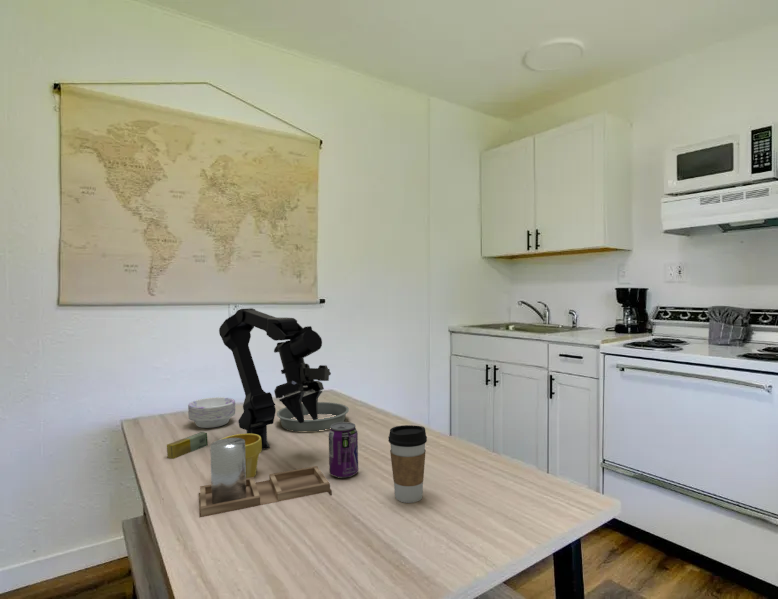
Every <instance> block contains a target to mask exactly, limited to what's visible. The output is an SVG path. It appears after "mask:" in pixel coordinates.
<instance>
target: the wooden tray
mask: <svg viewBox="0 0 778 599" xmlns="http://www.w3.org/2000/svg"><path fill="white" fill-rule="evenodd" d="M268 476H269V479H268V480H261V481H257V482H256V480H255V476H254V477H251V478H246V498H243V499H238V500H233V501H227V502H222V503H217V504H213V503H212V487H211V484H206V485H201V486H199V488H200V489H199V492H198V506H199V508H198V512H199V516H198V517H199V518H205V517H209V516H214V515H219V514H223V513H229V512H235V511H239V510H243V509H249V508H254V507H259V506H263V505H269V504H274V503H279V502H283V501H284V502H285V501H289V500H293V499H297V498H298V499H299V498H303V497H309V496H313V495H318V494H323V493H324V494H325V493H327V494H328V495H329V496H332V495H333V491H332V488H331V483H330V482H329V480H328V479H327V477H326V476H325V475H324V474H323V472H322V471H321V469H320V467H318V465H313V466H309V467H303V468H297V469H291V470H285V471H280V472H273V473H269V475H268Z"/></svg>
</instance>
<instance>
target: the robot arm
mask: <svg viewBox="0 0 778 599" xmlns="http://www.w3.org/2000/svg"><path fill="white" fill-rule="evenodd" d="M312 327H313V326H311V325H310V326H308V325H307V326H304V327H303V326H301V325H300V324H299V323H298V320H297V319H296V318H294V317H275V316H273V315H270V314H267V313H265V312H261V311H258V310H256V309H254V308H252V307H250V308H240V309H238V310H237V311H236V312H235V313H234V314H233V315H231V316H229V317H228V318H226V319H225V320H224V321H223V322H222V323H221V325H220V326H219V330H218V333H219V336H220V337H221V340H222V342H223V344H224V346H225V347H227V348H228V349H229V350H230V351H231V352H232V356H233V358H234V362H235V366H236V368H237V372H238V375H239V379H240V382H241V385H242V388H243V392H244V395H245V398H244V400H243V401H244V402H243V404H242V410H243V413H242V414H241V416H240V417H239V418H238V420H237V422H238V427H239V429H241V430H244V431H246V434H257V435H259V436H260V437H261V440H262V450H265V449H270V447H271V445H270V443H269V442H268V433H267V432H268V431H267V430H268V427H267V426H268V425H273V424H274V422H275V416H276V413H277V412H276V410H277V409H276V403H275V401H274V400H273V398H274V397H273V395H272V393H271V392H269V391H268V392H266V391H265V390H264V389H263V388H262V384H261V381H260V378H259V375H258V371H257V369H256V365H255V362H254V360H253V357H252V353H251V350H250V346H249V345H250V344H249V343H250V341H251V337H252V334H251V332H252V331H253V329H255V328H257V329H260V330H261V331H265V332H266V336H267V337H268V338H270V339H271V340H273V341H277V343H276V346H275V347H274V349H273V352H274V353H278V354H279V357H280V361H281V365H282V369H281V370H280V373H281V374H282V375H284V377H285V380H286V382H285V383H282V384H279V385H277V386H276V387H275V388H274V390H273V392H274V395H275V399H278V401H279V402H281V403H282V404H283V406H284V407H286V408H287V409H288V410H289V411H290V412H291V413H292V414H293V416H294V417H295V418H294V419H297V420H298V422H299V423H303V422H304V419H305V415H304V414H303V407H302V403H303V404H304V406H305V408H306V409H307V411H308V413H309V414H310V415H309V416H310V417H311V419H313V420H316V419H318V418H319V417H318V416H319V414H318V402H319V397H320V396H321V394H322V393H323V390H325V388H324V384H323V382H328V381H330V376H331V374H332V373H331V372H330V368H329V367H328V365H326V364H324V365H323V364H321V365H319V366H318V368H316V367H314V368H313V367H310V365H309V364H308V363H306V362H305V359H304V358H306V357H308V356H310V355H312V354H314V353H315V352H318V351H319V350H320V349H321V348H322V345H323V339H322V336H320V334H319V333H318V332H317V331H315V330H314V329H313V328H312ZM278 341H282V342H278Z"/></svg>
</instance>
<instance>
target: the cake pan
mask: <svg viewBox="0 0 778 599" xmlns="http://www.w3.org/2000/svg"><path fill="white" fill-rule="evenodd" d="M302 407H303V414H304V416H309V415H308V414H309V413H308V411H307V409H306V408H305V406H304V404H303V403H302ZM349 410H350V409H349V407H348V406H346V405H345V404H342V403H338V402H330V401H329V402H325V401H318V415H327V414H332V415H336V416H334V417H330V418H324V419H316V420H304V422H303V423H299V422H298V420H295V419H296V418H293V417H294V416H293V414H292V413H291V412H290V411H289V410H288V409H287V408H286V406H284V407H282V408H281V409H279V410H278V411H277V412H276V416H277V417H278V418H279V421H280V423H281V427H282V428H284V430H287V429H288V431H290V430H293V431H292V432H295V431H317V432H320V431H319V430H324V431H326V430H325V429H329V430H330V426H331V425H332V424H335V423H339V422H345V420H346V415H347V414H348V413H349ZM332 415H331V416H332ZM291 418H292V419H291Z"/></svg>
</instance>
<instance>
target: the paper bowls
mask: <svg viewBox="0 0 778 599" xmlns="http://www.w3.org/2000/svg"><path fill="white" fill-rule="evenodd" d="M187 406H188V407H187V410H188V412H187V413H188V414H187V416H188V419H189V420H191V421H193V422H194V424H195V425H196V426H197V427H199V428H202V429H212V428H214V429H215V428H220V427H222V426H225V425H226V424H228V423H229V422H230V419H231V418H232V417H234V416H235V415H236V400H235V399H233V398H231V397H224V396H223V397H221V396H220V397H219V396H218V397H207V398H199V399H196V400H193V401H191V402H189V403H188V405H187Z"/></svg>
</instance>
